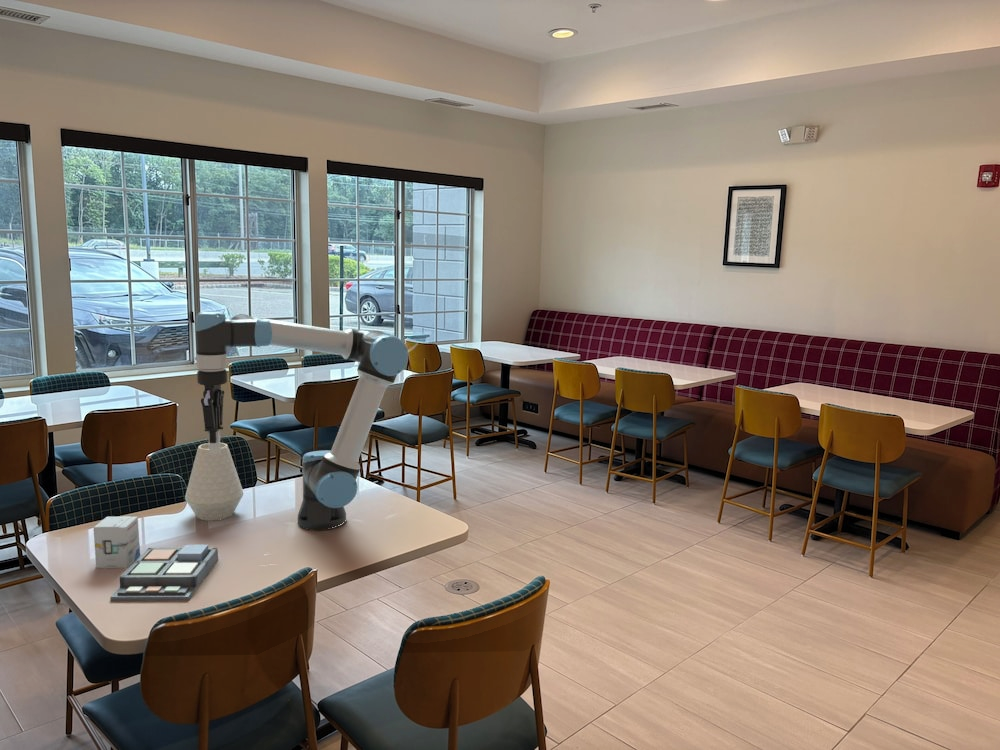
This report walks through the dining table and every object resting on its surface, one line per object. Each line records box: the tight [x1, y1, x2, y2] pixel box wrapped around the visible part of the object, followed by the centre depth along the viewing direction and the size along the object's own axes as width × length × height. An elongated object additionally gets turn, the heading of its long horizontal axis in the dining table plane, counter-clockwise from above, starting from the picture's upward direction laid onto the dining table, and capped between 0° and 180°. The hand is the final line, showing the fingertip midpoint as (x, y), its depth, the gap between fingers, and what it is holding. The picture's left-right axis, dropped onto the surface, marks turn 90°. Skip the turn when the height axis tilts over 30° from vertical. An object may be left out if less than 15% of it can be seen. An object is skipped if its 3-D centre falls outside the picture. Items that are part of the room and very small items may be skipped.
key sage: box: [131, 563, 164, 575], centre depth 186 cm, size 6×6×2 cm
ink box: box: [93, 515, 141, 569], centre depth 197 cm, size 8×8×12 cm
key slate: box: [178, 544, 209, 561], centre depth 195 cm, size 6×6×2 cm
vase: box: [184, 442, 244, 522], centre depth 233 cm, size 18×17×23 cm
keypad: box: [109, 547, 219, 602], centre depth 189 cm, size 18×24×4 cm
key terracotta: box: [144, 550, 176, 561], centre depth 195 cm, size 6×6×2 cm
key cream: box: [166, 563, 198, 575], centre depth 187 cm, size 6×6×2 cm
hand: (214, 453), depth 200 cm, fingers closed
